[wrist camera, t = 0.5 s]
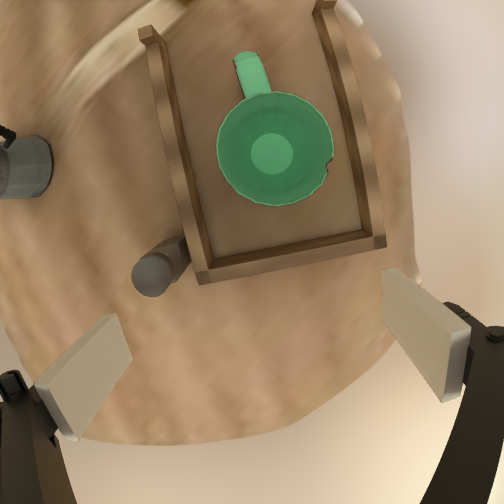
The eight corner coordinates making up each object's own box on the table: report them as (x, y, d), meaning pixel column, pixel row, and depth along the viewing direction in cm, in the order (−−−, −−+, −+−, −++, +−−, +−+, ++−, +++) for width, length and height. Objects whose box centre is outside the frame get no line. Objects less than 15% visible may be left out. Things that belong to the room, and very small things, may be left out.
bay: (122, 58, 32) (83, 30, 22) (323, 12, 30) (341, -31, 20) (171, 280, 39) (143, 316, 29) (375, 239, 37) (411, 263, 27)
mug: (325, 183, 36) (348, 188, 26) (242, 207, 37) (236, 221, 27) (287, 65, 32) (295, 31, 23) (205, 88, 33) (185, 62, 24)
